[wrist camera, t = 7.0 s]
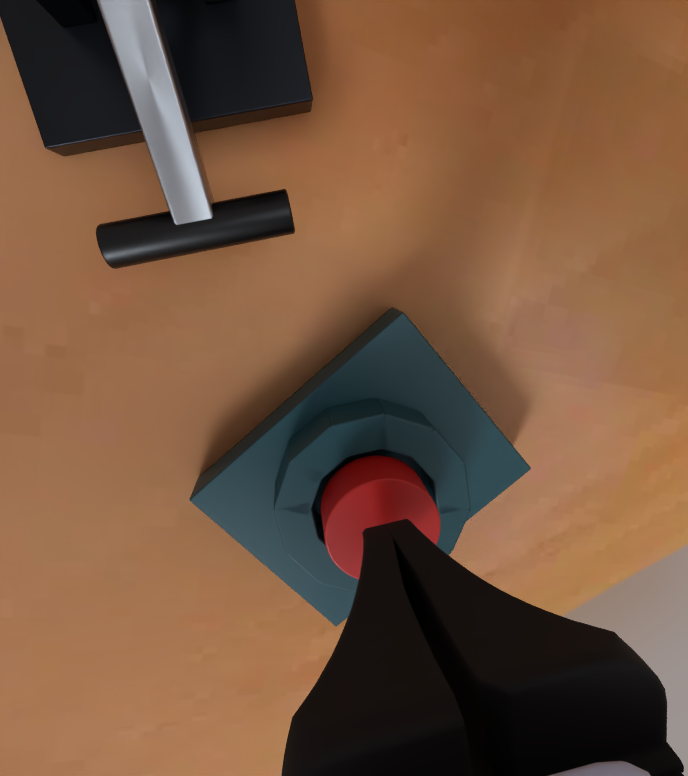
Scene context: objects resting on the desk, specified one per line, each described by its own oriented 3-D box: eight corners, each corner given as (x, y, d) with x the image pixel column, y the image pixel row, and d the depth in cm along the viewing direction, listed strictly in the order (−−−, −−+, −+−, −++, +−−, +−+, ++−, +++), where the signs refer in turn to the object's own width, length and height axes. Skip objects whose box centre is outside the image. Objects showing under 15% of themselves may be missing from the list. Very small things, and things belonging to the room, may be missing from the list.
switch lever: (291, 222, 15) (298, 244, 13) (124, 255, 14) (104, 282, 12) (175, -353, 9) (153, -480, 7) (-116, -318, 8) (-228, -441, 6)
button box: (332, 597, 20) (340, 664, 17) (197, 478, 18) (177, 528, 15) (511, 451, 20) (557, 491, 16) (392, 306, 17) (417, 318, 14)
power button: (367, 567, 17) (376, 602, 15) (298, 503, 16) (299, 533, 14) (445, 503, 16) (463, 532, 15) (380, 433, 15) (391, 455, 14)
